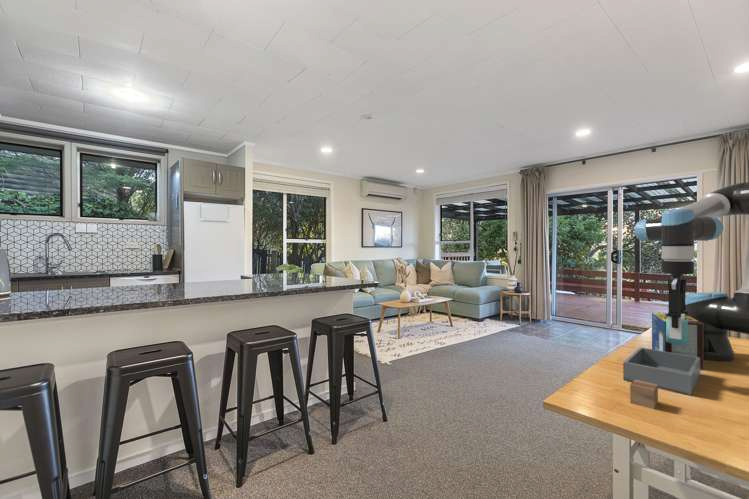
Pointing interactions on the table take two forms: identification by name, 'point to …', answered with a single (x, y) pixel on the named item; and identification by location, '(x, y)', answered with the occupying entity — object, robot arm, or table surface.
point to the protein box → (690, 349)
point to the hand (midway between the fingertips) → (677, 336)
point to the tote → (663, 370)
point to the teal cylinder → (684, 333)
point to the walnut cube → (644, 394)
